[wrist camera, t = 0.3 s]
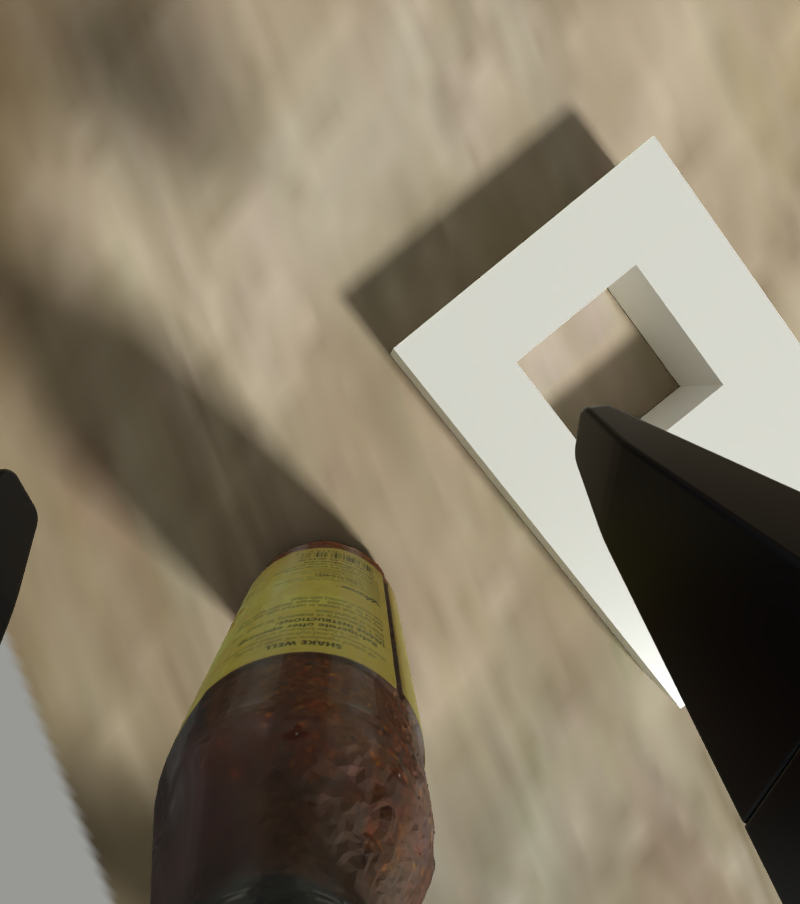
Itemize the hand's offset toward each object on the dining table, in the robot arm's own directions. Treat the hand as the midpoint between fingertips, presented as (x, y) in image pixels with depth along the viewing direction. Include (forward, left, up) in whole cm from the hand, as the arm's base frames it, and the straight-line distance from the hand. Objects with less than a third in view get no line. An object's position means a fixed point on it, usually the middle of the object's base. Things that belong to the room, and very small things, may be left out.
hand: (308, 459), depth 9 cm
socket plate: (-8, -9, -15) cm, 19 cm away
